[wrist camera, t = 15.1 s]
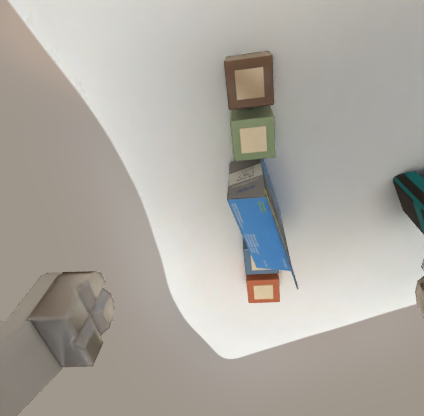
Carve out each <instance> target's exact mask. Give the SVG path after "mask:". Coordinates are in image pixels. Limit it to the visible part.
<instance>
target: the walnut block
mask: <svg viewBox="0 0 424 416" xmlns="http://www.w3.org/2000/svg"><path fill="white" fill-rule="evenodd" d="M224 66H225V76H226V86H227V96H228V105H229V110H232V109H241V108H249V107H258V106H266V105H273V104H274V91H273V57H272V55H271V54H270V53H269V51H264V52H257V53H250V54H243V55H235V56H228V57H226V58H225V61H224Z"/></svg>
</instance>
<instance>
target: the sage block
mask: <svg viewBox="0 0 424 416" xmlns="http://www.w3.org/2000/svg"><path fill="white" fill-rule="evenodd" d="M230 124H231V134H232V144H233V154H234V161H242V160H253V159H263V158H274V157H275V123H274V115H273V112H272V109H271V107H270V106H266V107H257V108H248V109H240V110H232V111H231V119H230Z"/></svg>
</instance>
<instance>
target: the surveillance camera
mask: <svg viewBox="0 0 424 416" xmlns="http://www.w3.org/2000/svg"><path fill="white" fill-rule="evenodd" d="M393 183H394V186H395V188H396V191H397V194H398V197H399V200H400V203H401V205H402V208H403V211H404V212H405V213H406V214H407V215H408V217H409V218H410V219H411V220H412V221H413V222H414V224H415V225H416V226H417V227H418V228H419V229H420V231H421V232H422V233H423V234H424V174H423V175H419V174H418V173H417V172H415V171H413V172H410V173H406V174H402V175H398V176H396V177H395V178H394V179H393Z"/></svg>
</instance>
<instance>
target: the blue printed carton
mask: <svg viewBox="0 0 424 416" xmlns="http://www.w3.org/2000/svg"><path fill="white" fill-rule="evenodd" d="M227 201H228V203H229V205H230V208H231V210H232V212H233V214H234V217H235V219H236V221H237V224H238V226H239V228H240V230H241V233H242V235H243V238H244V240H245V242H246V244H247V247H248V249H249V251H250V254H251V256H252V258H253V261H254V263H255V265H256V268H262V269H277V270H288V271H291V272H292V275H293V278H294V281H295V284H296V287H297V289H298V285H297V282H296V278H295V275H294V272H293V269H292V265H291V261H290V256H289V252H288V247H287V242H286V238H285V233H284V229H283V224H282V220H281V214H280V210H279V206H278V203H277V200H276V197H275V194H274V191H273V188H272V184H271V181H270V178H269V175H268V172H267V169H266V166H265V163H264V160H263V159H253V160H242V161H234V162H231V163H230V164H229V182H228V194H227Z"/></svg>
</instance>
